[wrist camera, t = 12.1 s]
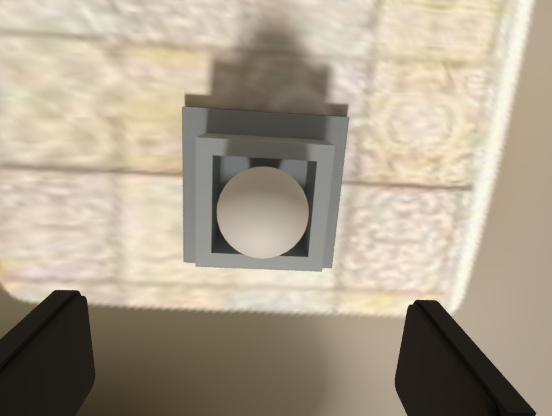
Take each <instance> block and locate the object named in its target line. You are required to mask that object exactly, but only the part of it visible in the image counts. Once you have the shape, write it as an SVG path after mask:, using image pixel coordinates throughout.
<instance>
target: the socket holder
mask: <svg viewBox="0 0 552 416" xmlns="http://www.w3.org/2000/svg"><path fill="white" fill-rule="evenodd" d="M348 122H349V117H339V116H323V115H308V114H292V113H276V112H261V111H245V110H230V109H214V108H198V107H182V139H183V250H184V262H190V263H196V267H219V268H244V269H270V270H295V271H320V272H322V268H332V262H333V253H334V245H335V236H336V227H337V218H338V210H339V201H340V192H341V184H342V175H343V166H344V157H345V149H346V140H347V131H348ZM264 166H265V167H272V168H276V169H279V170H282V171H284V172H285V173H287V174H289V175H290V176H291V177H292V178H294V179H295V180H296V181H297V182H298V184H299V185H300V186H301V188H302V189H303V191H304V194H305V196H306V198H307V202H308V207H309V217H308V223H307V226H306V229H305V232H304V234H303V235H302V237H301V239H300V240H299V241H298V242H297V244H296V245H295V246H294V247H292V248H291V249H290V250H288V251H287V252H285V253H283V254H281V255H279V256H276V257H272V258H264V259H261V258H253V257H250V256H246V255H244V254H242V253H240V252H238V251H237V250H236V249H234V248H233V247H232V246H231V245H230V244H229V243H228V242H227V241H226V240H225V238H224V236H223V235H222V233H221V231H220V228H219V224H218V221H217V203H218V200H219V197H220V194H221V193H222V191H223V189H224V187H225V185H226V184H227V183H228V182H229V181H230V180H231V179H232V178H233V177H234V176H236V175H237V174H238V173H240V172H242V171H244V170H246V169H250V168H254V167H264Z"/></svg>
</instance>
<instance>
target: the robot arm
mask: <svg viewBox="0 0 552 416" xmlns="http://www.w3.org/2000/svg"><path fill="white" fill-rule="evenodd" d="M94 380H95V367H94V359H93V350H92V341H91V333H90V323H89V315H88V305H87V299H86V297H85V296H81V294H80V292H79V291H76V290H55V291H54V292H52V293H51V294H50V295H49V296H48V297H47V298H46V299H45V300H43V301H42V302H41V303H40V304H39V305H38V306H37V307H36V308H35V309H33V310H32V311H31V312H30V313H29V314H28V315H27V316H26V317H25V318H23V320H21V321H20V322H19V323H18V324H17V325H16V326H15V327H14V328H13V329H11V330H10V331H9V332H8V333H7V334H6V335H5V336H4V337H2V338H1V339H0V416H76V414H77V412H78V411H79V409H80V407H81V405H82V404H83V402H84V401H85V399H86V397H87V395H88V394H89V392H90V390H91V389H92V387H93V384H94ZM395 388H396V391H397V394H398V396H399V398H400V400H401V402H402V404H403V407H404V409H405V411H406V413H407V415H408V416H535V415H536V412H535V411H534V410H533V409H532V408H531V406H530V405H529V404H528V403H527V402H526V401H525V400H524V399H523V397H522V396H521V395H520V394H519V393H518V392H517V391H516V389H515V388H514V387H513V386H512V385H511V384H510V383H509V382H508V381H507V379H506V378H505V377H504V376H503V375H502V374H501V373H500V371H499V370H498V369H497V368H496V367H495V366H494V365H493V363H492V362H491V361H490V360H489V359H488V358H487V357H486V356H485V354H484V353H483V352H482V351H481V350H480V349H479V348H478V347H477V345H476V344H475V343H474V342H473V341H472V340H471V338H470V337H469V336H468V335H467V334H466V333H465V332H464V331H463V329H462V328H461V327H460V326H459V325H458V324H457V323H456V322H455V320H454V319H453V318H452V317H451V316H450V315H449V314H448V312H447V311H446V310H445V309H444V308H443V307H442V306H441V305H440V303H439V302H437V301H435V300H416V301H415V302H414V303H413V305H409V306H408V309H407V314H406V320H405V326H404V331H403V336H402V342H401V348H400V354H399V359H398V364H397V370H396V375H395Z"/></svg>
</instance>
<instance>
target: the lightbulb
mask: <svg viewBox="0 0 552 416" xmlns="http://www.w3.org/2000/svg"><path fill="white" fill-rule="evenodd" d="M308 217H309V207H308V202H307V198H306V196H305V194H304V191H303V189H302V188H301V186H300V185H299V184H298V182H297V181H296V180H295V179H294V178H292V177H291V176H290V175H289V174H287V173H285V172H284V171H282V170H279V169H276V168H272V167H265V166H264V167H254V168H250V169H246V170H244V171H242V172H240V173H238V174H237V175H236V176H234V177H233V178H232V179H231V180H230V181H229V182H228V183H227V184H226V185H225V187H224V189H223V191H222V193H221V194H220V197H219V200H218V203H217V221H218V224H219V228H220V231H221V233H222V235H223V236H224V238H225V240H226V241H227V242H228V243H229V244H230V245H231V246H232V247H233V248H234V249H236V250H237V251H238V252H240V253H242V254H244V255H246V256H250V257H253V258H261V259H264V258H272V257H276V256H279V255H281V254H283V253H285V252H287V251H288V250H290V249H291V248H292V247H294V246H295V245H296V244H297V242H298V241H299V240H300V239H301V237H302V235H303V234H304V232H305V229H306V226H307V223H308Z"/></svg>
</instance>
